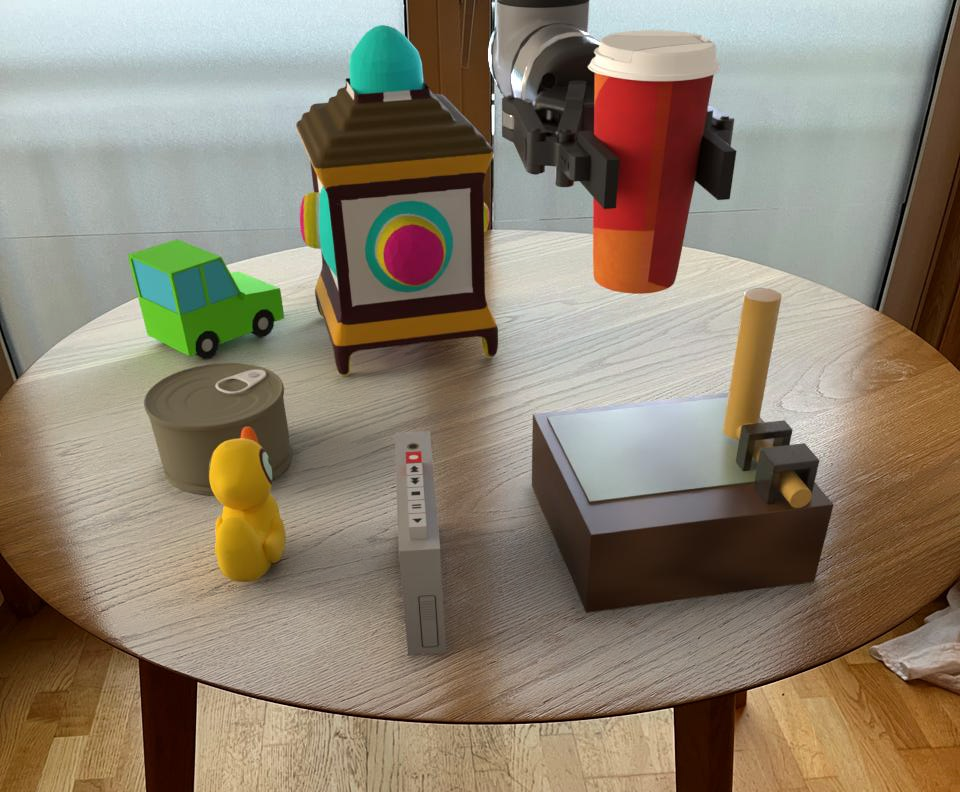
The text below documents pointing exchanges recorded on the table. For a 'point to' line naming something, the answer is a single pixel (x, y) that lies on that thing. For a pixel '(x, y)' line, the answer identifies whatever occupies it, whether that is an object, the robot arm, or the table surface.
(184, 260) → the toy car
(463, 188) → the decorative lantern
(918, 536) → the table surface
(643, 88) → the paper cup
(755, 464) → the chest
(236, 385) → the can
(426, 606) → the cassette player
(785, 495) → the bolt
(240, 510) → the duckling
